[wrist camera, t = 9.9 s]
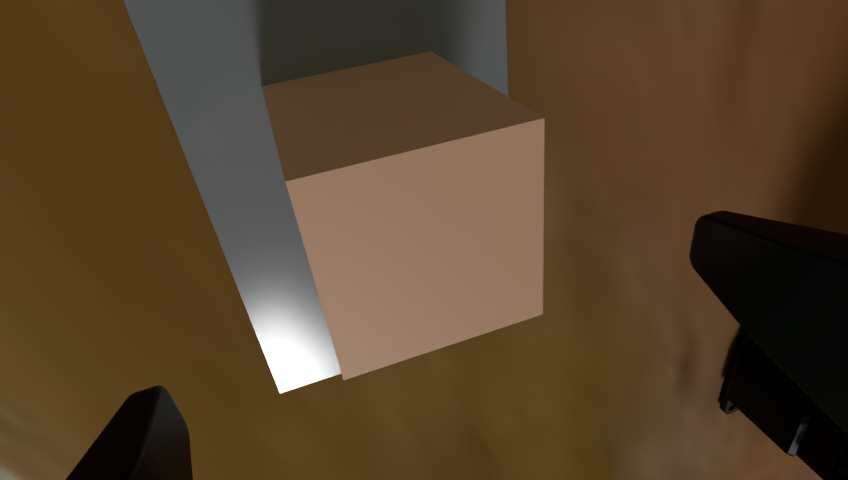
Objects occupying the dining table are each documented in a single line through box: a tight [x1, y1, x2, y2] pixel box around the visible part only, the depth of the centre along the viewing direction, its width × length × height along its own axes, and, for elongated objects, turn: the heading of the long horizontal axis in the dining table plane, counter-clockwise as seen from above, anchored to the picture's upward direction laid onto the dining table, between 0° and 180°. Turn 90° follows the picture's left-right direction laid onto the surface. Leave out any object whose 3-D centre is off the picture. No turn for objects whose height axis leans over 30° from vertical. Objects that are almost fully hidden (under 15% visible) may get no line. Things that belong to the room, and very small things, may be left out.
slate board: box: [123, 0, 508, 393], centre depth 15 cm, size 9×16×1 cm, turn 7°
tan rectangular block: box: [261, 51, 544, 380], centre depth 12 cm, size 4×4×6 cm
